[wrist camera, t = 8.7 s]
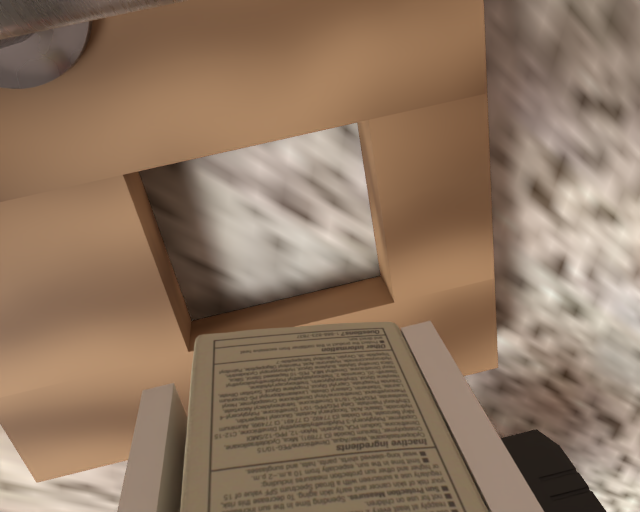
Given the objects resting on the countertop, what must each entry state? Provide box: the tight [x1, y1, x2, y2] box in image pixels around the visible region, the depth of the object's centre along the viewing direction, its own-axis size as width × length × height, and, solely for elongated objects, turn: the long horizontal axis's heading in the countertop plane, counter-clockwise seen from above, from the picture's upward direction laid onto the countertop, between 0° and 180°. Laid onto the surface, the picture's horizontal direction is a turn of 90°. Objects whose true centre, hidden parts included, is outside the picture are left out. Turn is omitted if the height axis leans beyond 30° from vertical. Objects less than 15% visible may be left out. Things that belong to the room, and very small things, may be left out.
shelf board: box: [0, 0, 498, 482], centre depth 21 cm, size 23×22×2 cm
